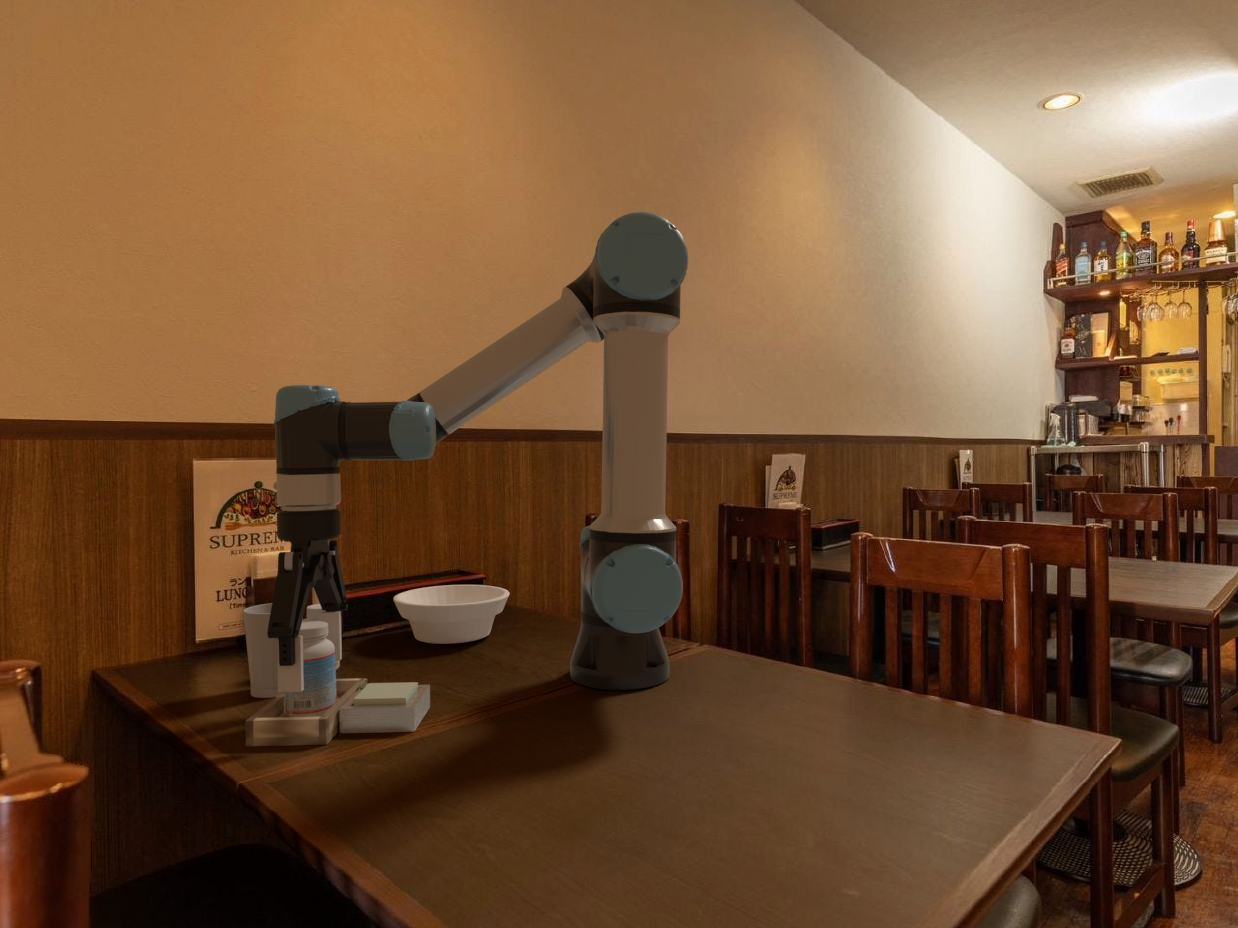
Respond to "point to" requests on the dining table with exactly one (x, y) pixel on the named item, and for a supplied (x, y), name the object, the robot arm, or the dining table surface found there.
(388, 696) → the pad
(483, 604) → the bowl
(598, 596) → the robot arm
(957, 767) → the dining table surface
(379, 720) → the white note holder
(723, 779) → the dining table surface
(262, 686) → the cup
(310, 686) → the pill bottle
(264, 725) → the trough
